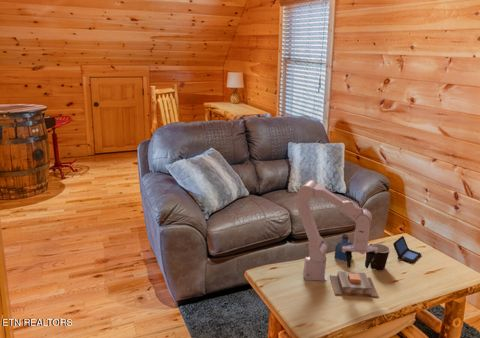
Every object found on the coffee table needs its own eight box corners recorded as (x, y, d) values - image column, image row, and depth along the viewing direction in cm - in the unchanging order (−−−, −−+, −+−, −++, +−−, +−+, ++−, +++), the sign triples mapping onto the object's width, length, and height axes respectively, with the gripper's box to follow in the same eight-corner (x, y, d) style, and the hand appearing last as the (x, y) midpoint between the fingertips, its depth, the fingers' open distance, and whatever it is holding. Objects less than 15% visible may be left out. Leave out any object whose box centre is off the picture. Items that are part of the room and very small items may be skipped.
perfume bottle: (339, 252, 205) (341, 231, 201) (351, 256, 201) (353, 234, 198) (334, 257, 200) (336, 235, 196) (346, 262, 197) (349, 239, 193)
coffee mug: (388, 273, 188) (391, 253, 185) (368, 270, 190) (371, 251, 187) (384, 260, 199) (387, 241, 196) (366, 258, 200) (368, 239, 197)
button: (349, 285, 174) (350, 279, 173) (347, 279, 178) (348, 273, 178) (360, 285, 174) (360, 279, 173) (357, 280, 178) (358, 274, 177)
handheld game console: (412, 264, 196) (414, 251, 194) (390, 256, 203) (392, 243, 201) (421, 255, 205) (424, 242, 203) (400, 248, 212) (402, 235, 209)
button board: (334, 295, 171) (335, 287, 170) (329, 276, 184) (330, 269, 183) (378, 297, 170) (379, 290, 169) (370, 278, 183) (371, 271, 182)
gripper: (346, 242, 166) (343, 271, 171) (381, 243, 167) (377, 272, 171) (342, 234, 173) (338, 262, 177) (376, 235, 173) (372, 263, 178)
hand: (357, 266), depth 175 cm, fingers open, 7 cm apart
